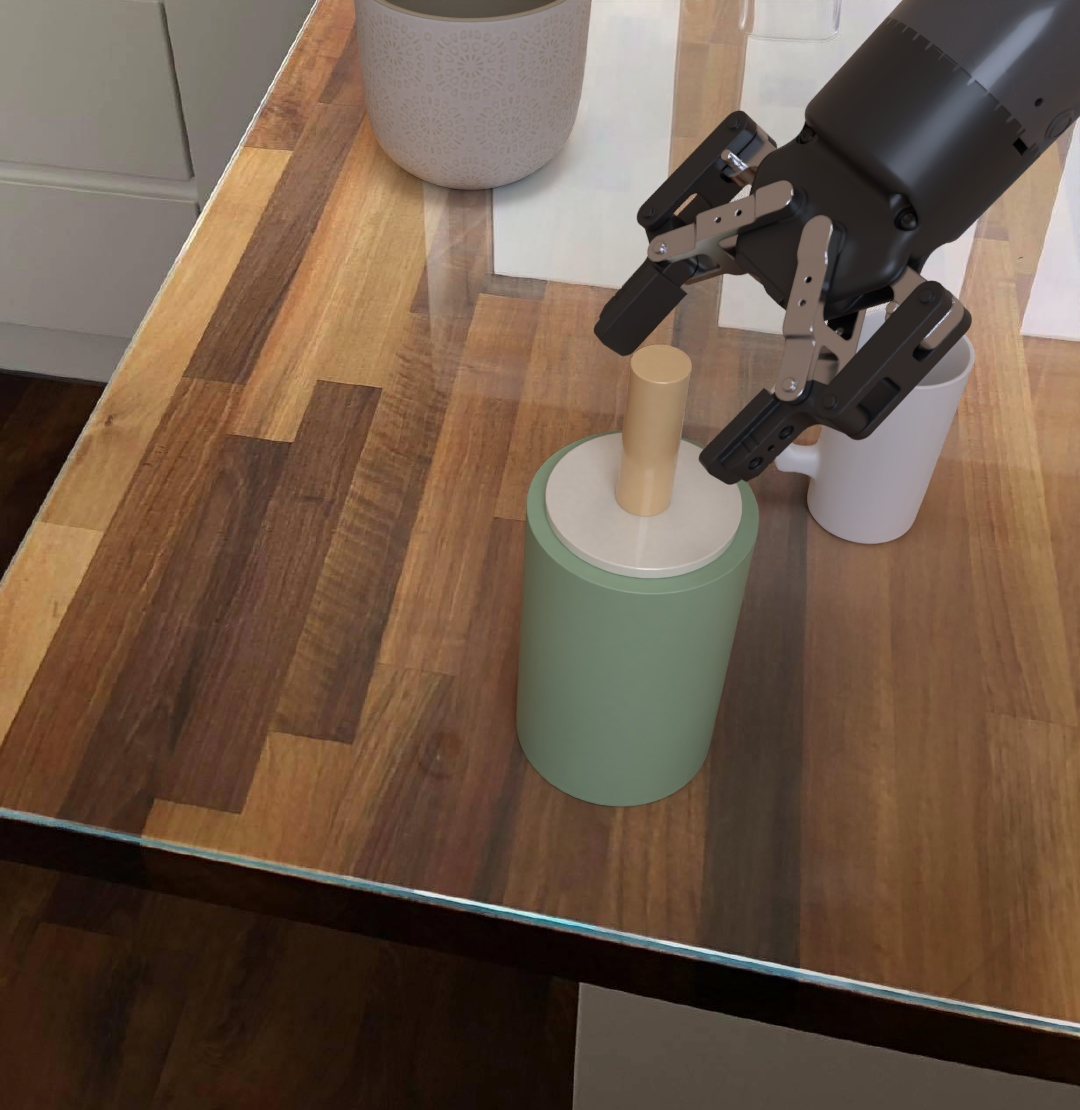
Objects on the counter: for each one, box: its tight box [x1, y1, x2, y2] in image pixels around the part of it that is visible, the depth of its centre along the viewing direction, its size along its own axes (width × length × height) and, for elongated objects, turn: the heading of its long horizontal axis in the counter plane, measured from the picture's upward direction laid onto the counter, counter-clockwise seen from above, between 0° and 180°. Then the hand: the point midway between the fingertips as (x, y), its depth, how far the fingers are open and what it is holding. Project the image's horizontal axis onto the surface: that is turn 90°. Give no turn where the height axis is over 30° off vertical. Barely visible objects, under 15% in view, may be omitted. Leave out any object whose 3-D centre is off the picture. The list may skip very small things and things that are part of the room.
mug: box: [769, 307, 976, 545], centre depth 78 cm, size 10×7×12 cm, turn 82°
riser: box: [515, 429, 760, 807], centre depth 66 cm, size 10×10×16 cm
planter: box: [353, 0, 593, 191], centre depth 104 cm, size 17×17×15 cm
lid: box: [545, 343, 742, 578], centre depth 58 cm, size 8×8×8 cm
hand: (658, 406), depth 56 cm, fingers open, 8 cm apart
